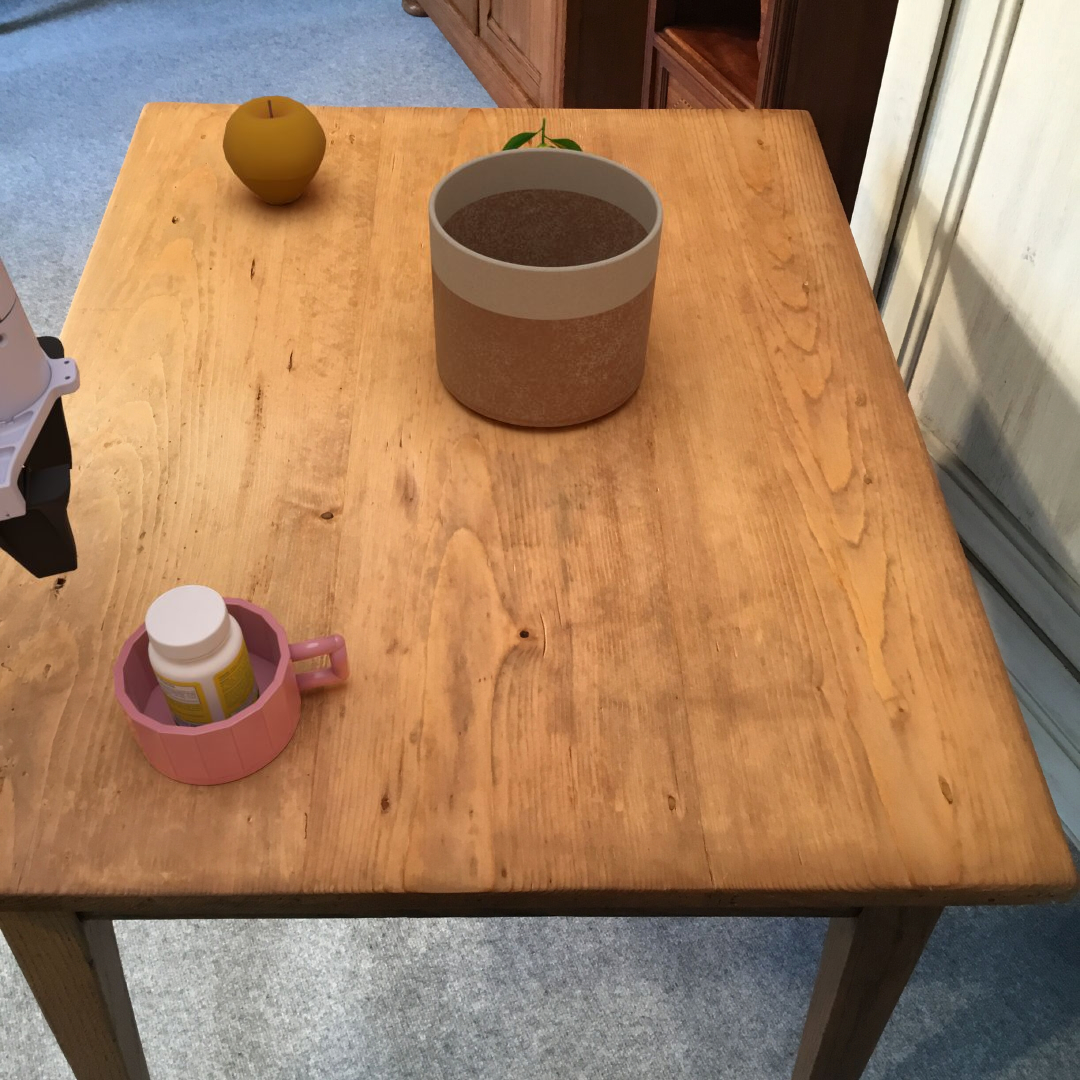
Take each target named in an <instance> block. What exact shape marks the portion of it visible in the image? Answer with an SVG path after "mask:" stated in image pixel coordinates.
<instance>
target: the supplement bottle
mask: <svg viewBox="0 0 1080 1080" xmlns="http://www.w3.org/2000/svg"><path fill="white" fill-rule="evenodd" d="M222 597H223V596H221V595H220V594H219V593H218V592H217V591H216V590H214V589H212V588H211V587H208V586H206V585H200V584H185V585H180V586H177V587H173V588H171V589H169V590H167V591H165V592H164V593H162V594H160V595H159V596H158V597H157V598H155V600H153V602H152V603H151V604H150V605H149V607H148V609H147V611H146V614H145V618H144V622H145V626H146V630H147V633H148V636H149V640H150V642H149V647H148V653H149V659H150V662H151V665H152V668H153V670H154V673H155V675H156V677H157V680H158V682H159V685H160V687H161V690H162V692H163V694H164V697H165V699H166V701H167V704H168V706H169V709H170V711H171V713H172V716H173V718H174V721H175V723H176V725H177V726H185V727H198V726H202V725H206V724H211V723H215V722H219V721H223V720H227V719H229V718H231V717H232V716H234V715H236V714H237V713H239V712H241V711H242V710H244V709H246V708H247V707H249V706H251V705H252V704H254V703H255V702H256V701H257V700H258V699H259V697H260V693H259V688H258V685H257V682H256V678H255V675H254V671H253V668H252V665H251V661H250V658H249V655H248V651H247V648H246V644H245V641H244V637H243V634H242V631H241V628H240V626H239V624H238V623H237V621H236V620H235V619H234V618H233V616H231V615H230V614H229V613H228V610H227V608H226V605H225V602H224V600H223V598H222Z"/></svg>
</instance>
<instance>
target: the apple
mask: <svg viewBox="0 0 1080 1080" xmlns="http://www.w3.org/2000/svg"><path fill="white" fill-rule="evenodd" d="M326 149H327V137H326V133H325V131H324V129H323V127H322V124H321V123H320V122H319V120H318V118H317V116H316V115H315V114H314V113H313V112H312V111H311V110H310V109H308V107H306V105H305V104H304V103H302V102H299V101H298V100H295V99H293V98H291V97H289V96H283V95H265V96H260V97H255V98H252V99H250V100H248V101H246V102H244V103H243V104H241V105H239V106H238V107H237V108H236V110H234V111H233V113H231V115H230V116H229V118H228V119H227V121H226V123H225V129H224V133H223V139H222V150H223V153H224V158H225V160H226V162H227V164H228V165H229V167H230V169H231V171H232V172H233V174H234V175H235V176H236V177H237V178H238V180H240V182H241V183H242V184H243V185H244V187H246V188H247V189H248V190H249V191H250V192H251V193H252V194H254V195H255V196H256V197H257V198H258V199H260V200H261V201H262V202H265V203H268V204H270V205H274V206H280V205H281V206H282V205H285V204H288V203H291V202H294V201H295V200H297V199H298V198H299V197H300V196H301V195H302V194H303V193H304V192H305V190H307V188H308V187H309V185H310V184H311V182H312V181H313V179H314V177H315V176H316V174H317V173H318V171H319V169H320V167H321V164H322V162H323V160H324V158H325V153H326Z"/></svg>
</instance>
